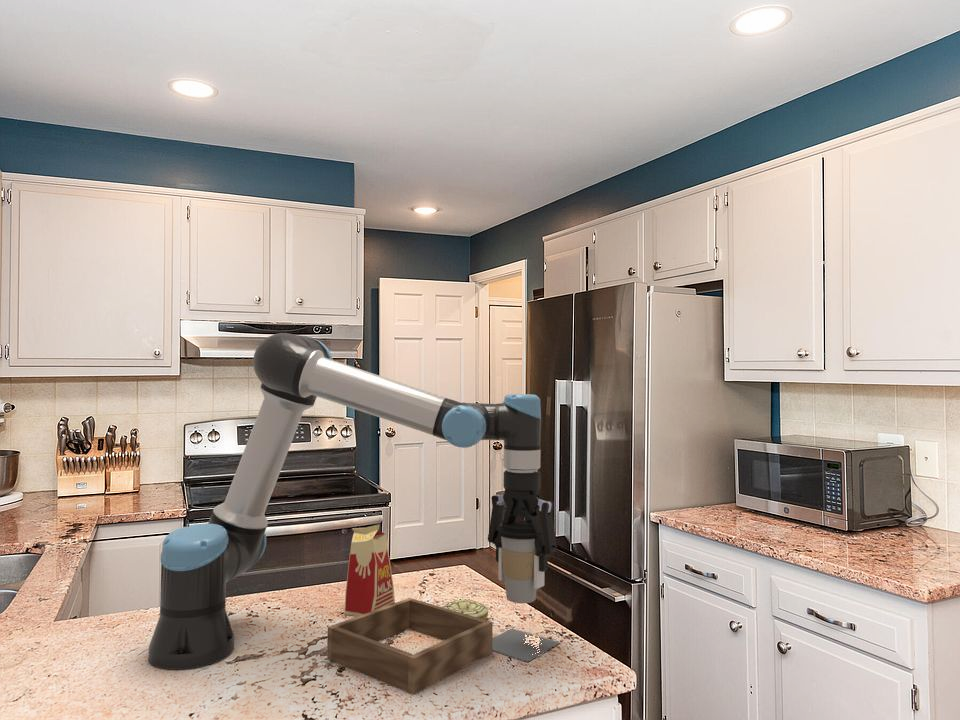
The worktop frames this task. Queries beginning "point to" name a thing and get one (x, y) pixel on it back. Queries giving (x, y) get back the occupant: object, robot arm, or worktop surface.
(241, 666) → the worktop surface
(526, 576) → the coffee cup
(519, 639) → the mat
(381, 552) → the milk carton
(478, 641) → the frame
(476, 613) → the decorated donut
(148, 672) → the worktop surface
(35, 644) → the worktop surface
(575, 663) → the worktop surface
